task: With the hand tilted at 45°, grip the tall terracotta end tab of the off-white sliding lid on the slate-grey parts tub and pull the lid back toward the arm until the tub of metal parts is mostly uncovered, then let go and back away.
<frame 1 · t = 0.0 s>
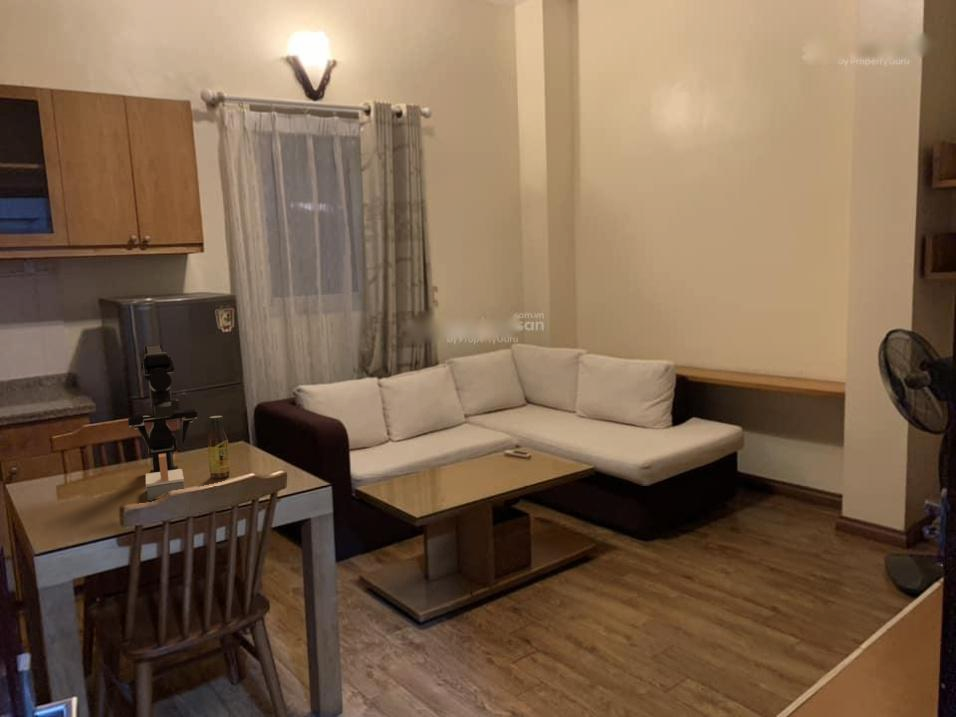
hand: (166, 446, 212), 15 cm above the table, tool pointing down, fingers open, 9 cm apart
lid: (163, 465, 218), point 8 cm above the table, slide at 0.0 cm
sauce bottle: (220, 476, 234), on the table
parts tub: (166, 492, 219), on the table
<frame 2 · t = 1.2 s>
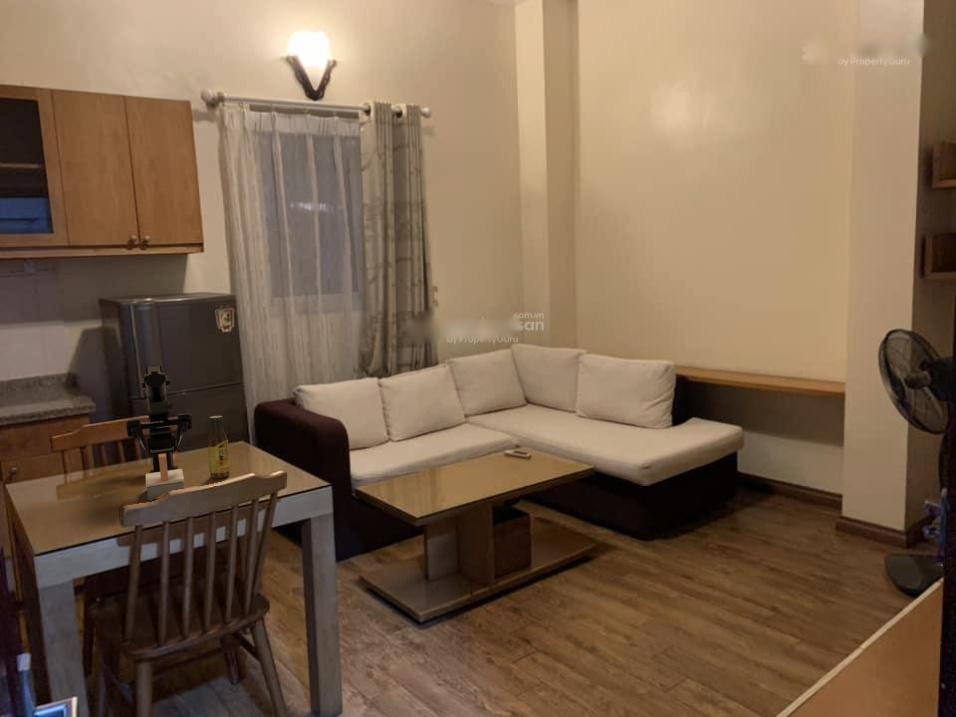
hand: (162, 447, 221), 13 cm above the table, tool tilted 45°, fingers open, 9 cm apart
nothing on the table moved.
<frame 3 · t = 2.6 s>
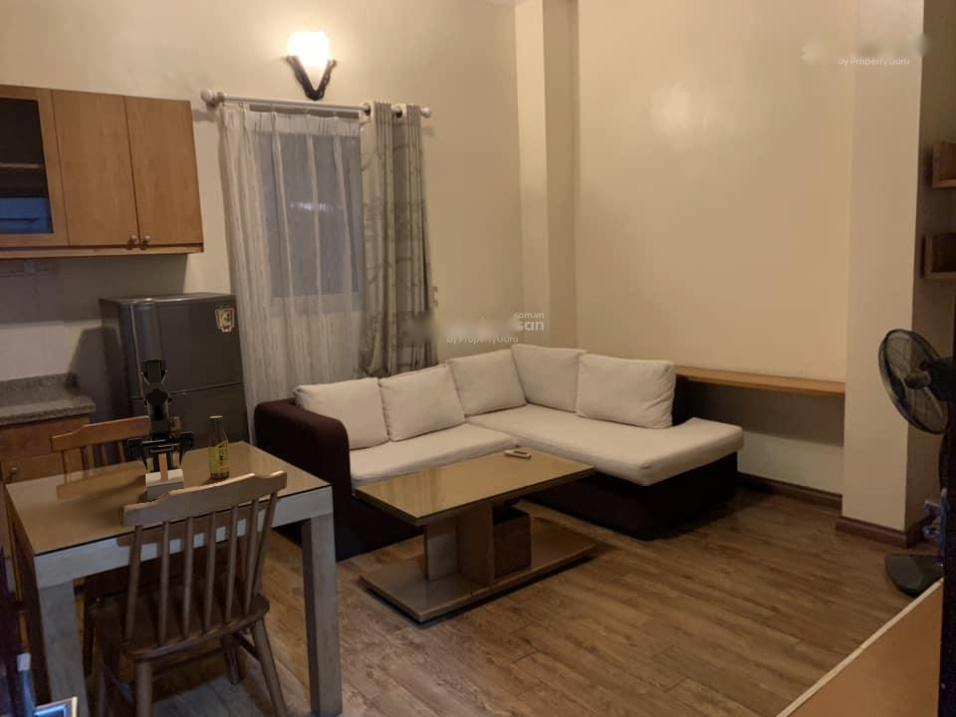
hand: (163, 466, 214), 9 cm above the table, tool tilted 45°, fingers open, 9 cm apart
nothing on the table moved.
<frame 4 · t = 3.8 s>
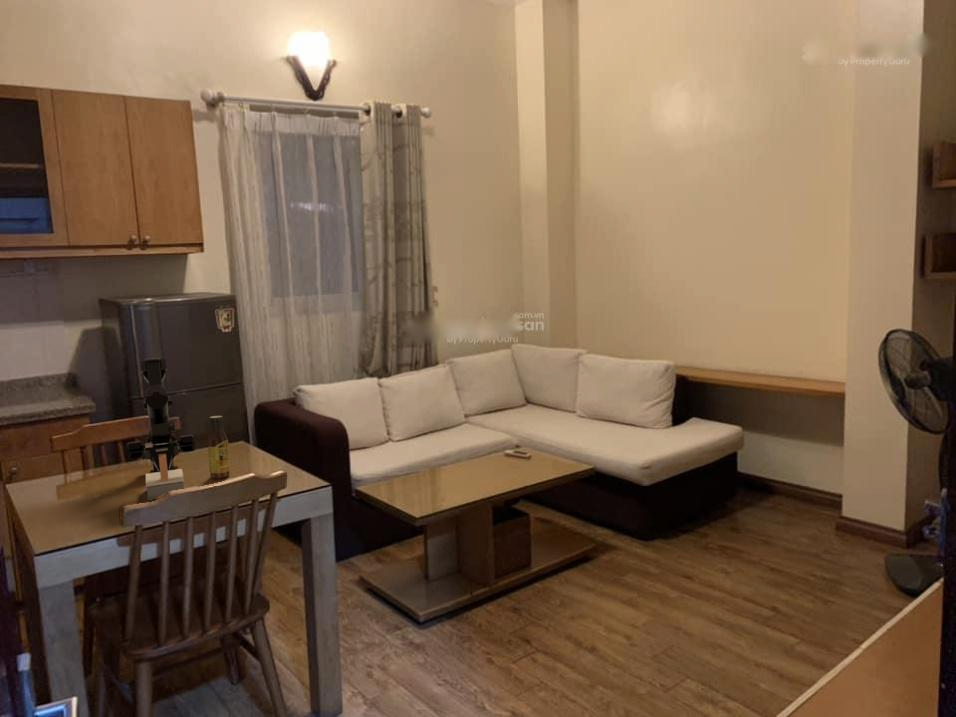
hand: (163, 470, 214), 8 cm above the table, tool tilted 45°, fingers closed on lid, 2 cm apart
lid: (163, 465, 218), point 8 cm above the table, slide at 0.0 cm, touching gripper
everything else where it was.
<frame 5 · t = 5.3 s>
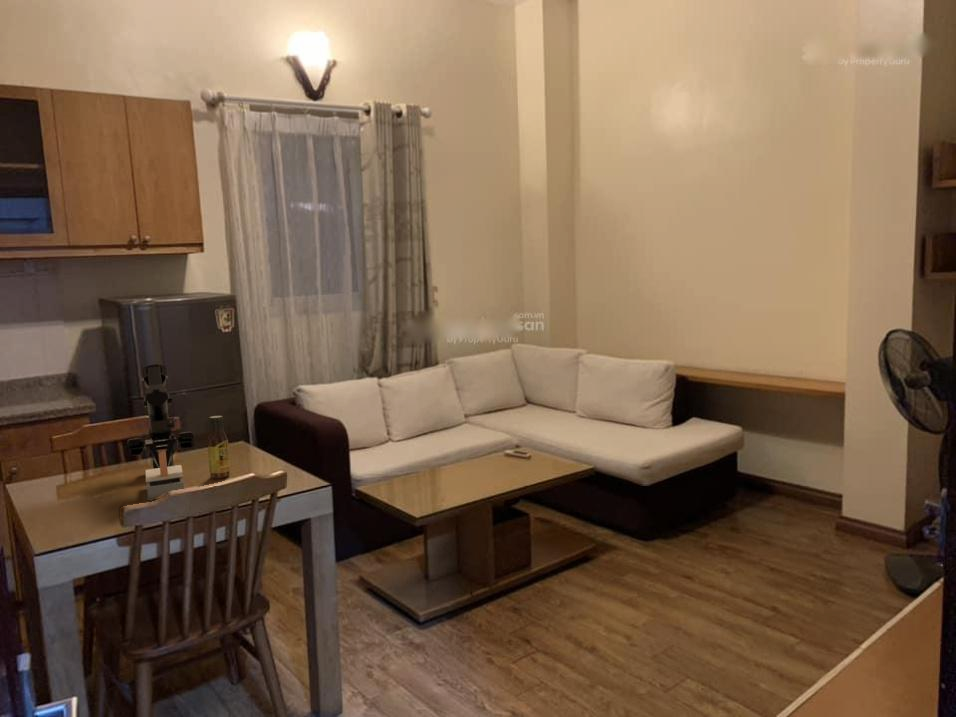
hand: (163, 466, 218), 8 cm above the table, tool tilted 45°, fingers closed on lid, 2 cm apart
lid: (163, 461, 223), point 8 cm above the table, slide at 5.2 cm, touching gripper
everything else where it was.
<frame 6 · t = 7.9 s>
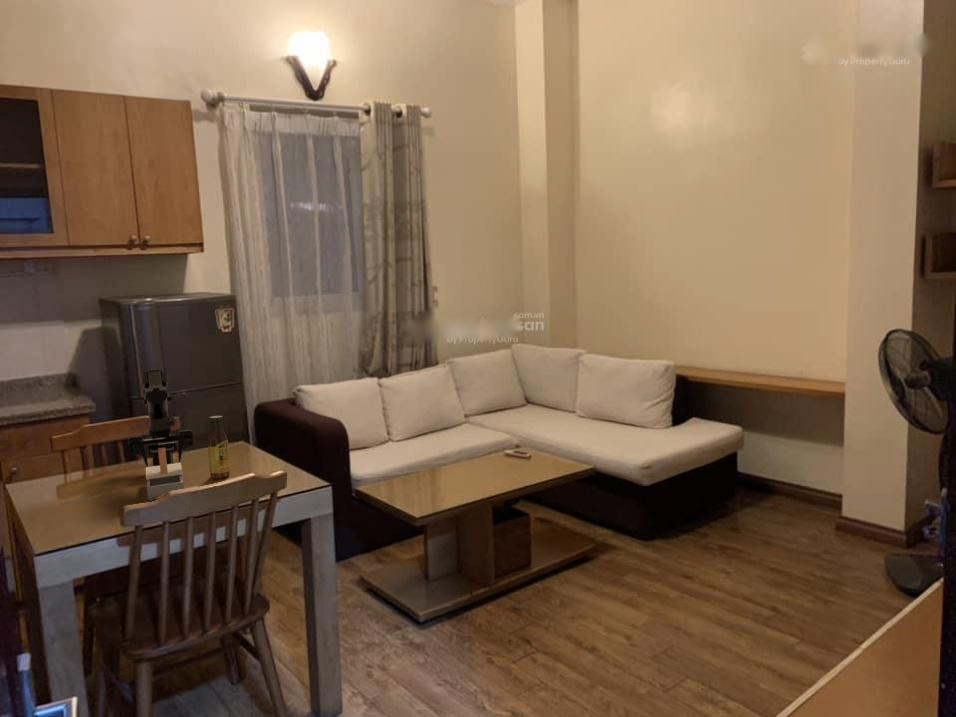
hand: (163, 464, 221), 8 cm above the table, tool tilted 45°, fingers open, 9 cm apart
lid: (162, 459, 226), point 8 cm above the table, slide at 8.5 cm
everything else where it was.
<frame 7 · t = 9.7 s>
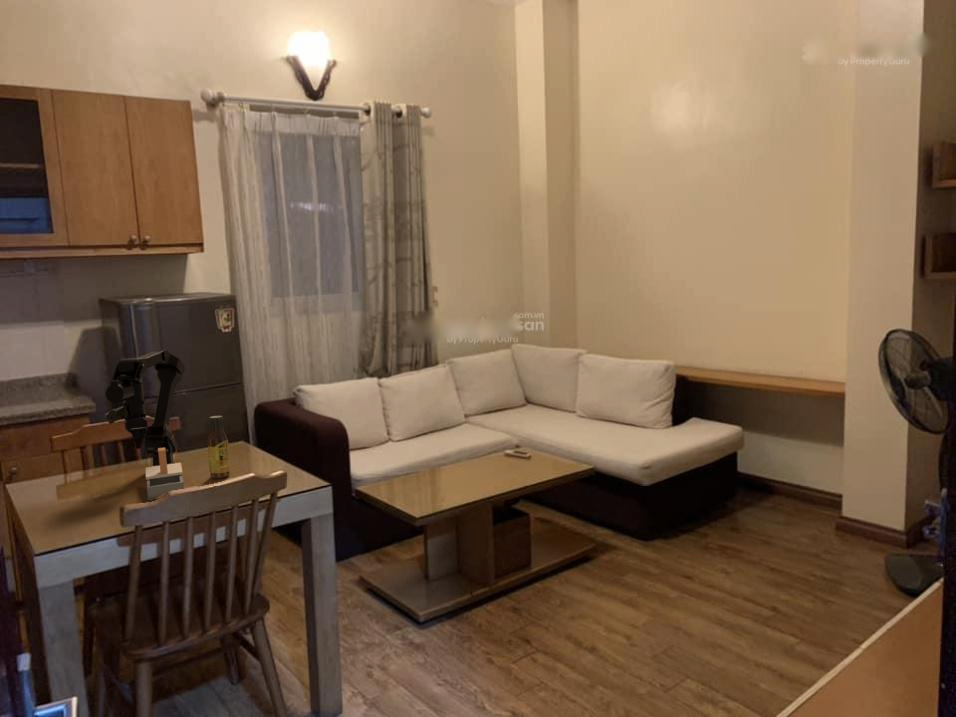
hand: (138, 445, 229), 12 cm above the table, tool pointing down, fingers open, 9 cm apart
nothing on the table moved.
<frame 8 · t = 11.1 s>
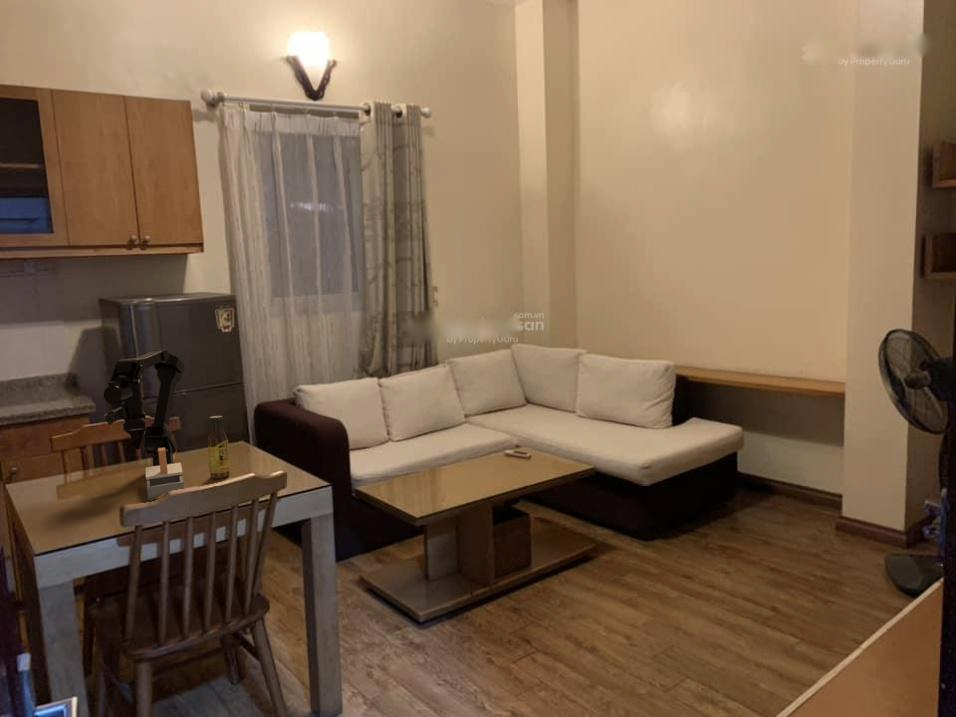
hand: (137, 446, 229), 12 cm above the table, tool pointing down, fingers open, 9 cm apart
nothing on the table moved.
at the end: lid slide at 8.5 cm; the gripper is holding nothing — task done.
